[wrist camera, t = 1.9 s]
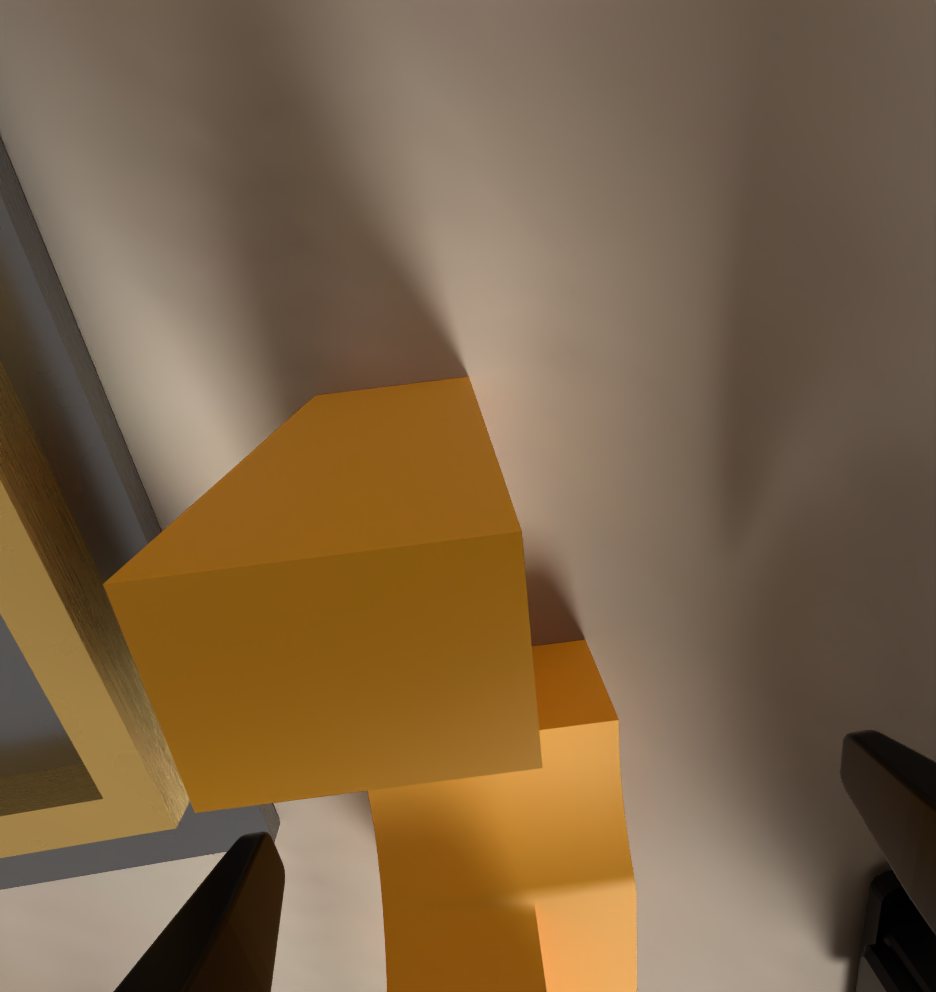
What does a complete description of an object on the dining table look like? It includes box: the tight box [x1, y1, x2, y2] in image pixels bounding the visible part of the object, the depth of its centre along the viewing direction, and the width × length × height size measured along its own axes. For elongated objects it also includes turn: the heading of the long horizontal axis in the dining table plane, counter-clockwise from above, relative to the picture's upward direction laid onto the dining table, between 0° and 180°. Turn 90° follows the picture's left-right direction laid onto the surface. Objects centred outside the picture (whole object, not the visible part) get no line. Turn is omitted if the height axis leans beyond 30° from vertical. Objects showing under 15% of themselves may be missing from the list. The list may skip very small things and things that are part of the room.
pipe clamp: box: [103, 377, 637, 992], centre depth 9 cm, size 12×4×6 cm, turn 7°
